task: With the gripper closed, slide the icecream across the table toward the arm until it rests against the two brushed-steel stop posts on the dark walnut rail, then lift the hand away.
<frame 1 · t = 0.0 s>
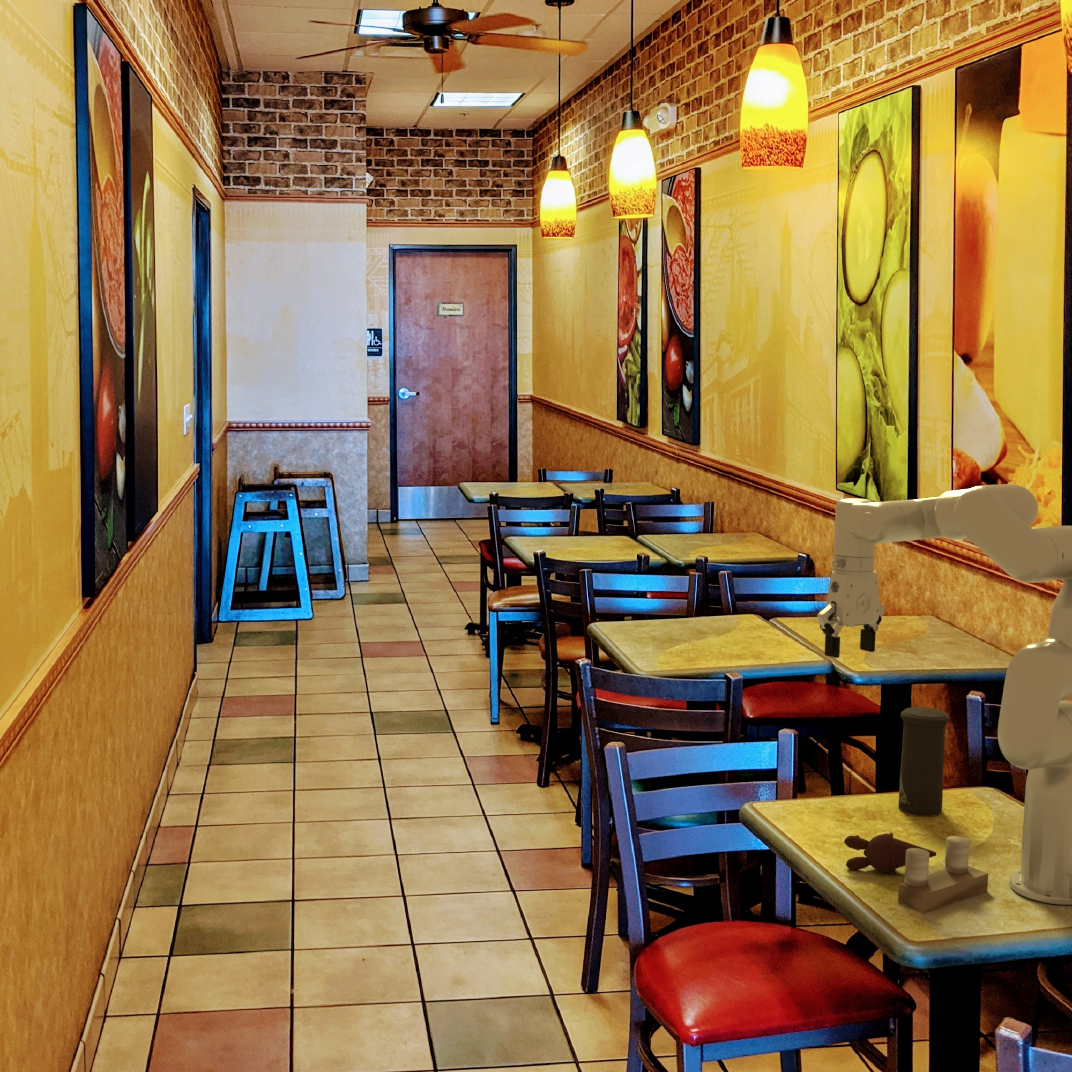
hand: (849, 653, 247), 31 cm above the table, tool pointing down, fingers open, 9 cm apart
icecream: (888, 872, 221), on the table
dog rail: (943, 896, 211), on the table
container: (920, 810, 253), on the table
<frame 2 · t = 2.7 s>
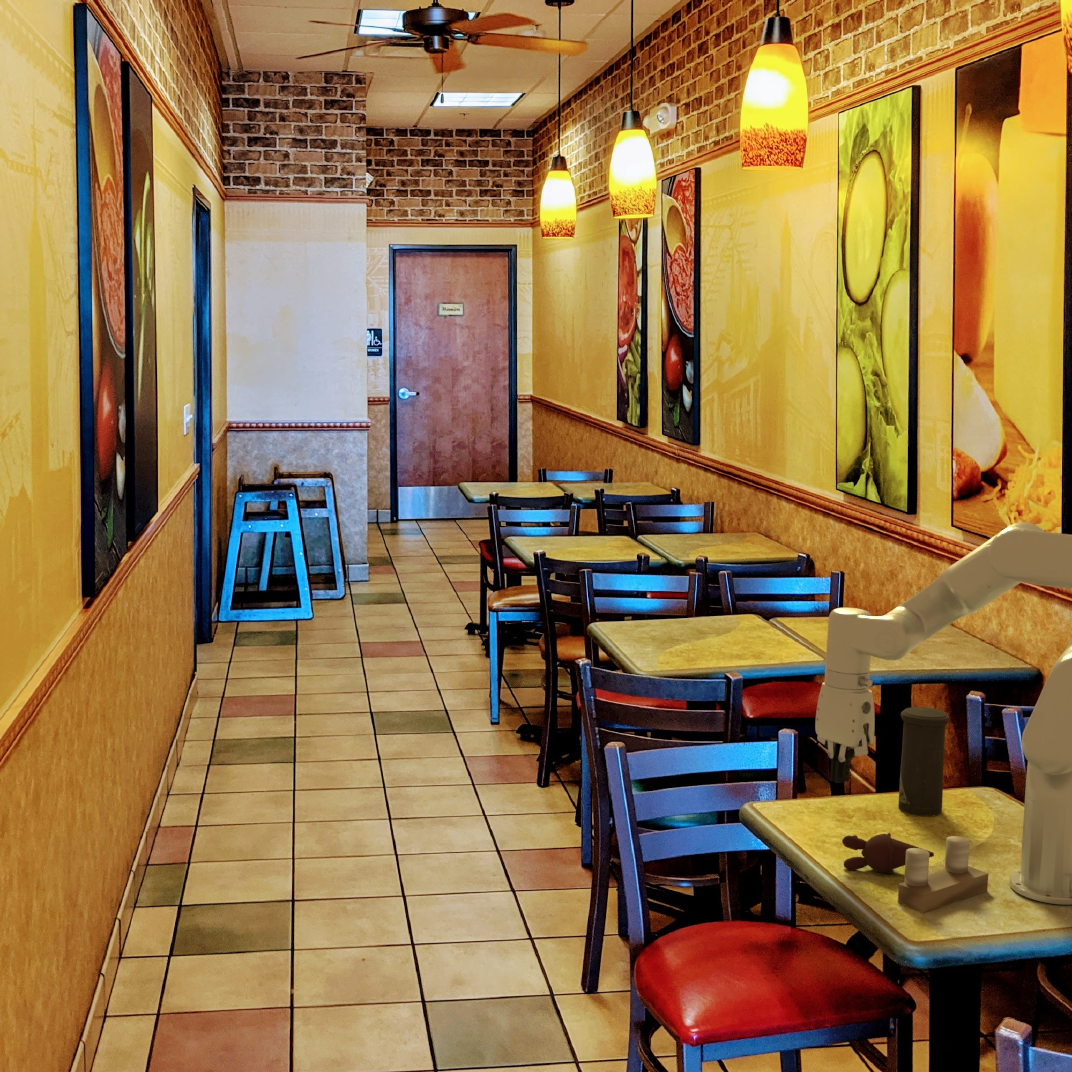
hand: (839, 780, 229), 13 cm above the table, tool pointing down, fingers closed
nothing on the table moved.
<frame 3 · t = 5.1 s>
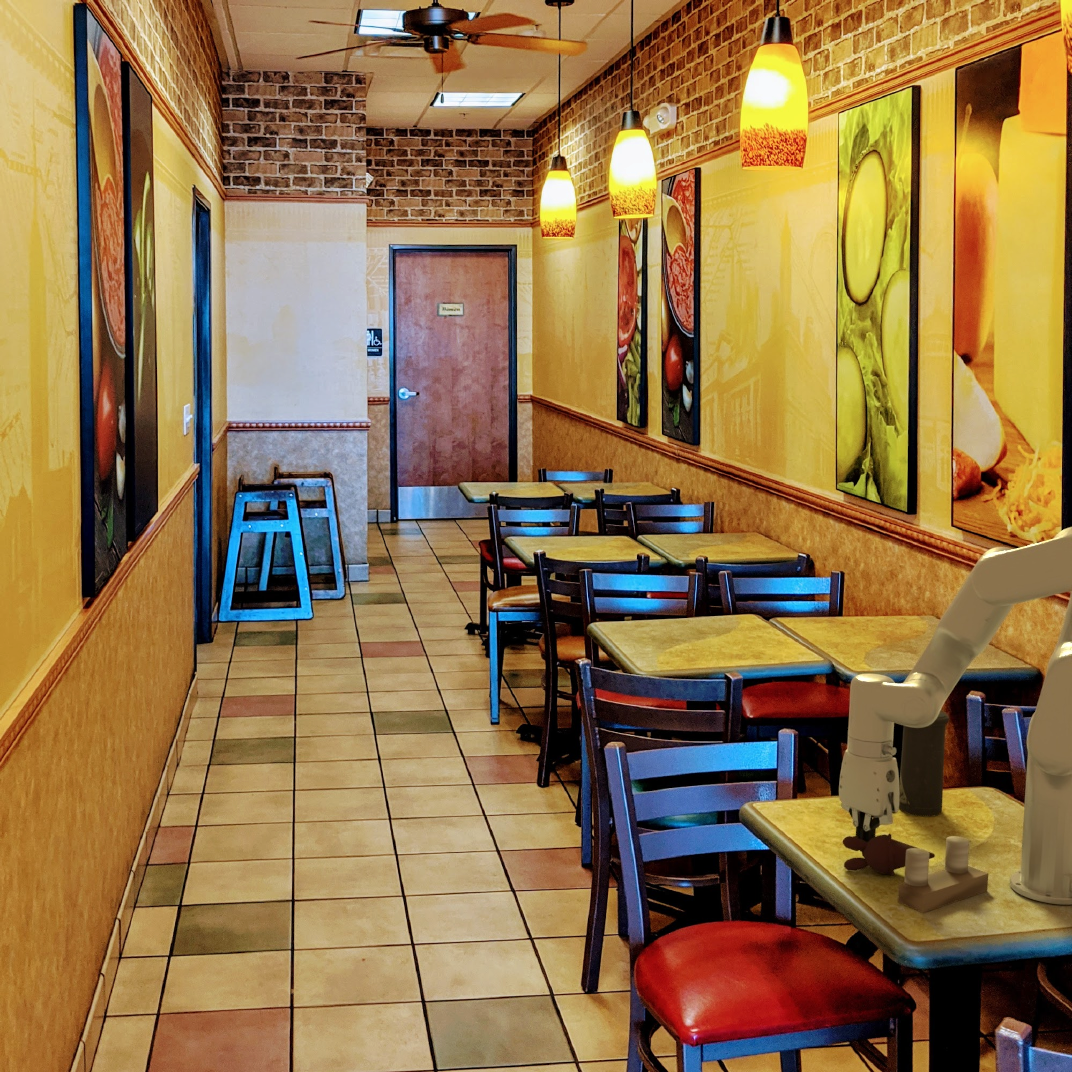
hand: (864, 849, 225), 2 cm above the table, tool pointing down, fingers closed
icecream: (886, 873, 221), on the table, touching gripper
everything else where it was.
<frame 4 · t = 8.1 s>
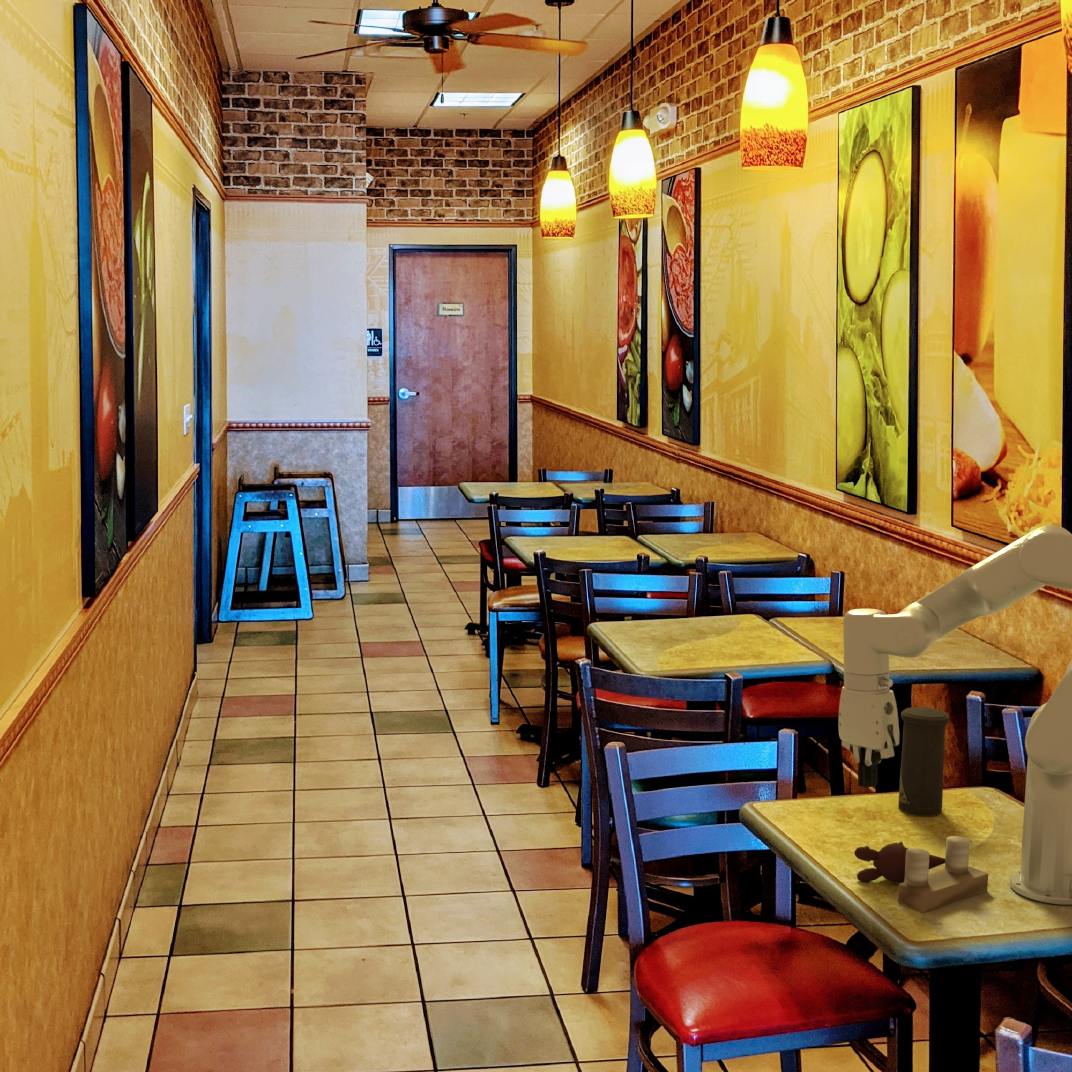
hand: (867, 785, 225), 13 cm above the table, tool pointing down, fingers closed
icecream: (899, 882, 217), on the table
everything else where it was.
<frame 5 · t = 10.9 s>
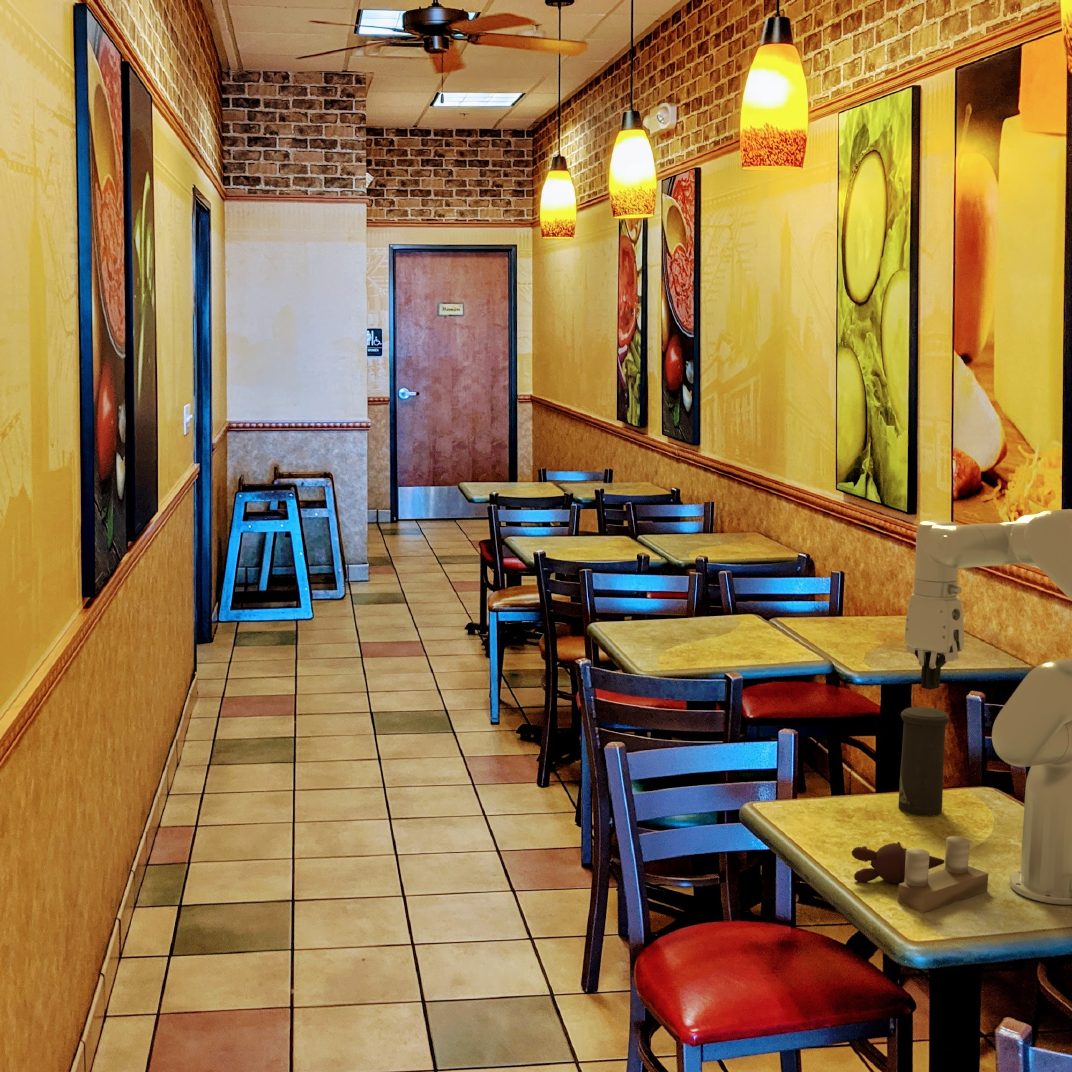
hand: (930, 687, 238), 27 cm above the table, tool pointing down, fingers closed
nothing on the table moved.
at the end: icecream 2.7 cm from the target spot, on the table; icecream tilted 0°; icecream moved 4.5 cm from its start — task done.
